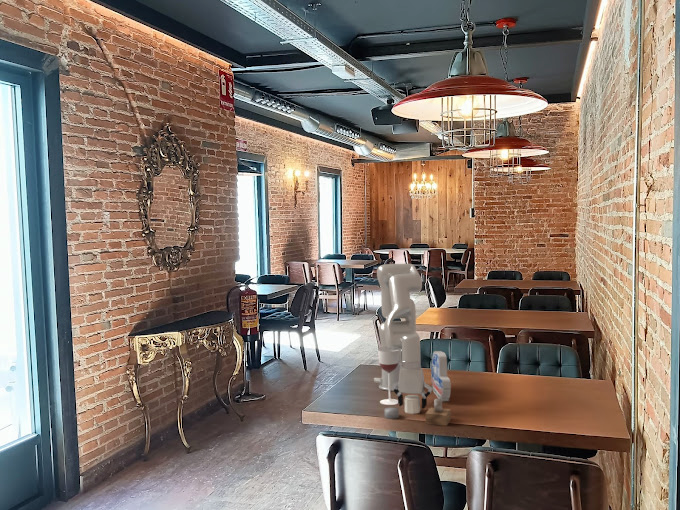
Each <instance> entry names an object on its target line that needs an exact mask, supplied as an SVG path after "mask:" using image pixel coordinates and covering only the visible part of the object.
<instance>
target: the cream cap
mask: <svg viewBox="0 0 680 510" xmlns="http://www.w3.org/2000/svg"><path fill="white" fill-rule="evenodd" d="M403 405H404V412H405V413H406V414H411V415H414V414H419V413H420V412H421V399H420V396H419V395H418V394H408V395H405V396H404V398H403Z"/></svg>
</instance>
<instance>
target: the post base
mask: <svg viewBox="0 0 680 510" xmlns="http://www.w3.org/2000/svg"><path fill="white" fill-rule="evenodd" d="M433 402H434V403H433V406H434V407H430V408H428V410H427V411H426V412H425V424H426V425H433V426H434V425H436V426H448V425H449V423H450V421H452V410H451V408H443V402H442V399H439V398H435V399H434V400H433Z"/></svg>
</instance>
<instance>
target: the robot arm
mask: <svg viewBox="0 0 680 510" xmlns="http://www.w3.org/2000/svg"><path fill="white" fill-rule="evenodd" d="M376 278H377V281H378V284H379V287H380V290H381V298H380V301H381V303H380V304H381V315H382V317H383V318H384V319H385V321H384V322H381V323H380V325H378V335H379V341H380V348H384V347H388V348H389V349H391V350H399V362H398V366H397V367H396V369H394V370H393V371H391V372H390V390H391V392H393V393H394V394H396V396H397V400H398V406H399V407H402V405H404V395H403V394H408V395H420V396H421V397H422V398H421V408H422V409H425V408H426V406H427V405H428V399H427V398H428V396H430V395H431V393H432V392H433V386H432V385H430V384H428V383H426V382H425V376H424V371H423V368H422V366H421V365H422V364H421V361H422V360H421V338H420V335H419V334H418V333H417V330H416V329H417V326H416V325H417V324H416V323H417V322H416V321H417V320H416V318H417V315H416V313H417V312H416V304H415V301H414V300H413V299H412V298H411V293H420V291H421V290H422V288H423V282H422V277H421V275H420V273H419V270H417V268H416V266H415V265H414V264H412V263H388V264H382V265H380V266H378V267H377V270H376ZM395 319H396V320H395ZM398 319H404V320H398ZM373 382H374V383H377V384H378V388H379V389H380V390H383V391H386V392H389V390H388V372H386V371H385V370H383V369H382V368H381V377H374V378H373ZM425 388H426V389H427V392H426V391H425V390H426V389H425Z"/></svg>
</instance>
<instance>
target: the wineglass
mask: <svg viewBox="0 0 680 510" xmlns="http://www.w3.org/2000/svg"><path fill="white" fill-rule="evenodd" d="M377 355H378V356H377V358H378V363H379V365H380V368H381V370H382V369H383V370H385V371H386V372H388V390H389V391H388V398H386V399H382V400H380V401H379V403H380V404H381V405H387V406H392V405H397V404H398V405H399V403H398V399H395V398H391V397H392V396H391V394H392V393H391V392H392V391H391V390H390V372H391V371H393V370H394V369H396V367H397V366H398V362H399V350H391V349H389V348H388V347H384V348H381V347H379V348H378V349H377Z"/></svg>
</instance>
